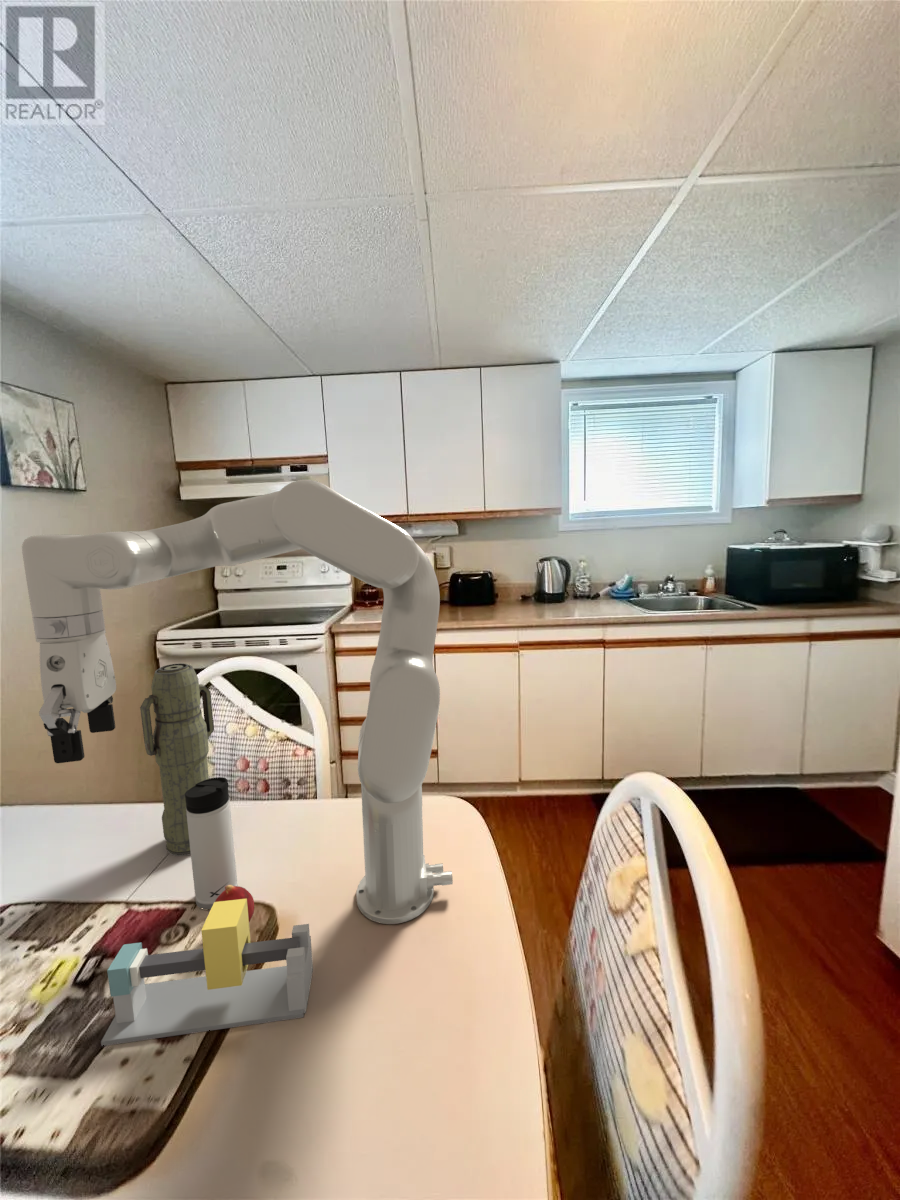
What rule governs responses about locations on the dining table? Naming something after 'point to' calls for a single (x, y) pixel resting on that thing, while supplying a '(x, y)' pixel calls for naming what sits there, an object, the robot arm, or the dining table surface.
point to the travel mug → (210, 839)
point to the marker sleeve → (225, 943)
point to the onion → (237, 897)
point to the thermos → (178, 744)
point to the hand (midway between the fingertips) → (87, 745)
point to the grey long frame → (189, 1000)
